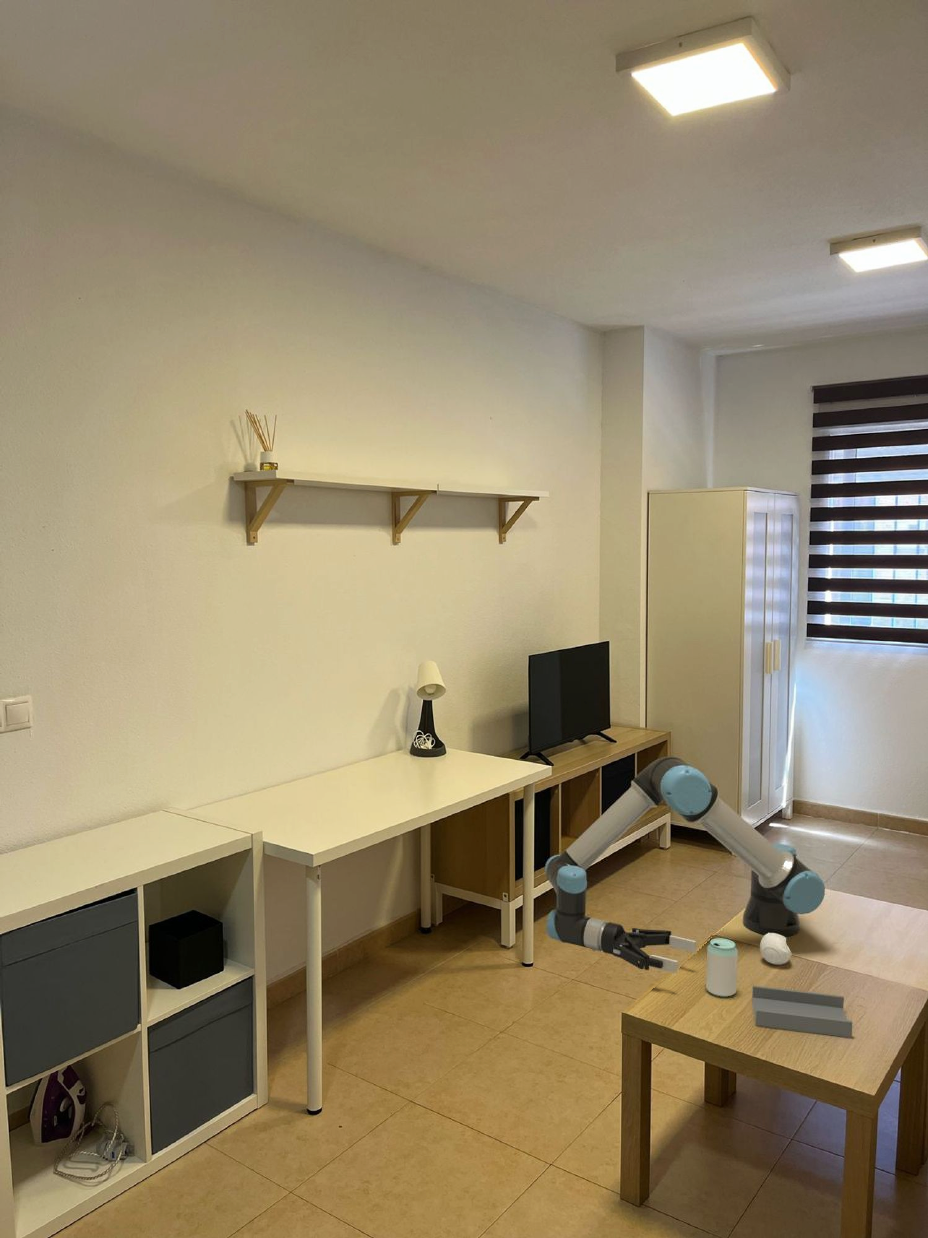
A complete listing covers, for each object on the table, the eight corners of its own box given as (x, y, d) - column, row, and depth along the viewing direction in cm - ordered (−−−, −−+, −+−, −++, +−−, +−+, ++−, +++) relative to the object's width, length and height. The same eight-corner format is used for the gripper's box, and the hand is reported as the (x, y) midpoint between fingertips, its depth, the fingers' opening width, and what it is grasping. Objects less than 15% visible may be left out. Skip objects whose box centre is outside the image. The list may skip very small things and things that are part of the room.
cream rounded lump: (793, 971, 240) (794, 941, 239) (762, 969, 240) (763, 939, 240) (786, 957, 247) (788, 928, 247) (756, 955, 248) (757, 926, 248)
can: (727, 1001, 223) (729, 952, 222) (700, 991, 228) (702, 942, 227) (741, 992, 228) (743, 943, 227) (715, 982, 233) (716, 934, 232)
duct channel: (752, 999, 224) (752, 985, 224) (842, 1010, 219) (843, 996, 219) (755, 1026, 212) (756, 1010, 211) (851, 1038, 207) (852, 1022, 207)
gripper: (623, 934, 253) (701, 953, 242) (584, 969, 232) (668, 991, 221) (624, 907, 253) (702, 924, 242) (585, 939, 232) (669, 960, 221)
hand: (686, 957), depth 231 cm, fingers open, 13 cm apart
